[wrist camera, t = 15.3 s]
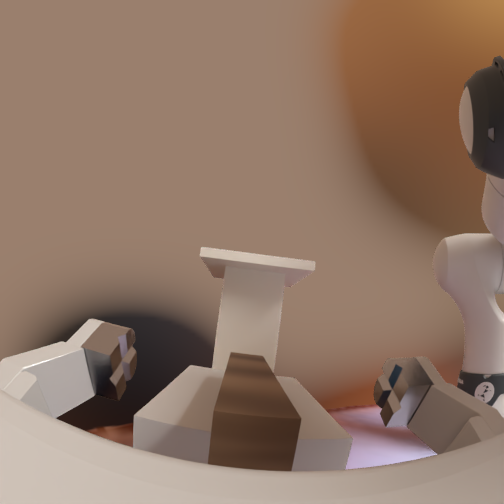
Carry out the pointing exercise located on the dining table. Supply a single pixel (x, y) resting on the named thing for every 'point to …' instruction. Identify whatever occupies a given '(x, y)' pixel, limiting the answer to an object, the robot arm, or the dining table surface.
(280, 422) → the walnut bar
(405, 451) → the dining table surface
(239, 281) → the stepped stand
